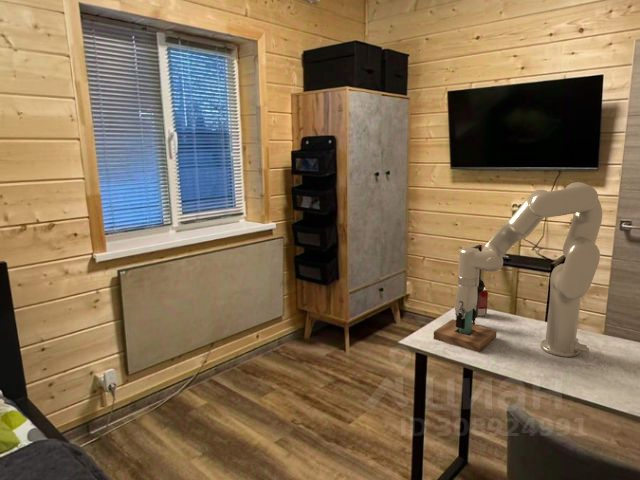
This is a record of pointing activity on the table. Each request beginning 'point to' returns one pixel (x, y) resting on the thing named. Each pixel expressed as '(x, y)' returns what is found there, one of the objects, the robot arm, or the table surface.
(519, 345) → the table surface
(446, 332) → the socket board
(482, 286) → the microphone
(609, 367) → the table surface
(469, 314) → the peg
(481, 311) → the soda can
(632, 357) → the table surface
